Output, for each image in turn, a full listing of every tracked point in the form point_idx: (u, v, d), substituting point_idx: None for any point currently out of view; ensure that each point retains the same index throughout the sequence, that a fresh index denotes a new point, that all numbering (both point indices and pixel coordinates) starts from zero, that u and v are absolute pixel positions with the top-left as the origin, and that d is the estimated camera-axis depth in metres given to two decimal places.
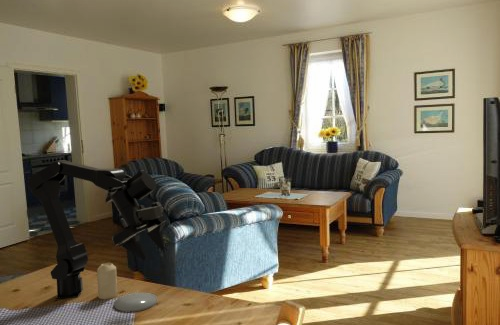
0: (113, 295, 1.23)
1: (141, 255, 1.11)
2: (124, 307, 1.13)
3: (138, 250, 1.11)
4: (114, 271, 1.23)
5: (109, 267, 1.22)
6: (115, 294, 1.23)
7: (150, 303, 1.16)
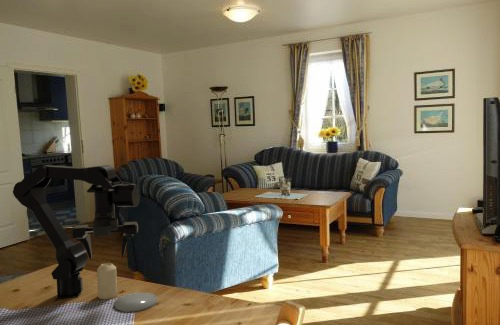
0: (113, 295, 1.23)
1: None
2: (124, 307, 1.13)
3: None
4: (114, 271, 1.23)
5: (109, 267, 1.22)
6: (115, 294, 1.23)
7: (150, 303, 1.16)
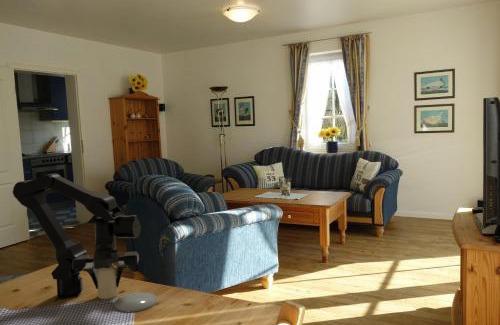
0: (113, 295, 1.23)
1: None
2: (124, 307, 1.13)
3: None
4: (114, 271, 1.23)
5: None
6: (115, 294, 1.23)
7: (150, 303, 1.16)
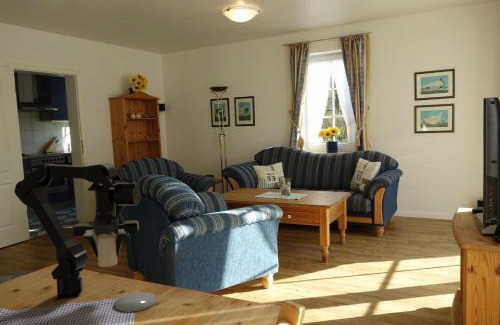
0: (113, 263, 1.22)
1: None
2: (124, 307, 1.13)
3: None
4: (114, 239, 1.22)
5: (109, 235, 1.21)
6: (115, 262, 1.22)
7: (150, 303, 1.16)
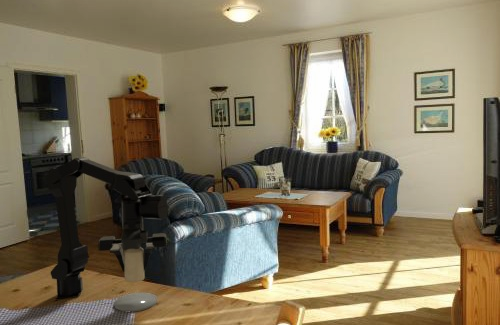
0: (141, 278, 1.16)
1: None
2: (124, 307, 1.13)
3: None
4: (142, 253, 1.16)
5: (137, 249, 1.16)
6: (142, 277, 1.17)
7: (150, 303, 1.16)
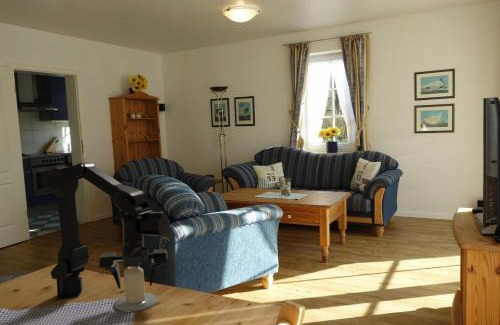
0: (141, 299, 1.16)
1: None
2: (124, 307, 1.13)
3: None
4: (141, 274, 1.17)
5: (136, 270, 1.16)
6: (143, 298, 1.17)
7: (150, 303, 1.16)
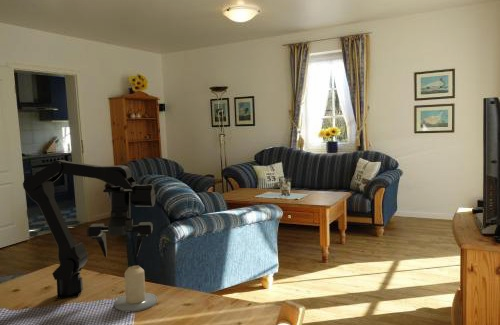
0: (141, 299, 1.16)
1: None
2: (124, 307, 1.13)
3: None
4: (142, 274, 1.17)
5: (137, 270, 1.16)
6: (143, 298, 1.17)
7: (150, 303, 1.16)
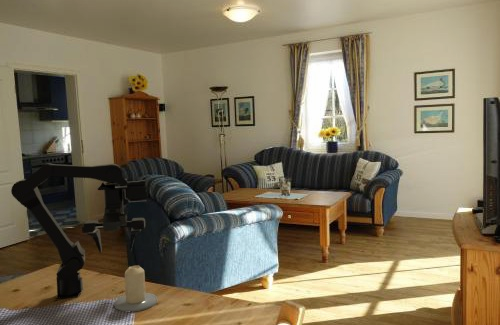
0: (141, 299, 1.16)
1: None
2: (124, 307, 1.13)
3: None
4: (142, 274, 1.17)
5: (137, 270, 1.16)
6: (143, 298, 1.17)
7: (150, 303, 1.16)
